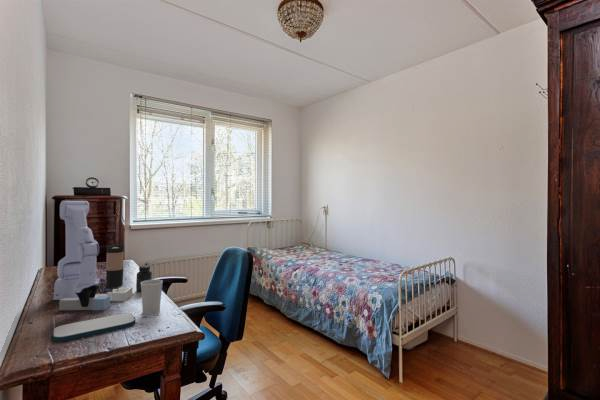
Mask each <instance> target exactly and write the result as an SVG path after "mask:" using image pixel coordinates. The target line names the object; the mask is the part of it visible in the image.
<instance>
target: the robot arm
mask: <svg viewBox="0 0 600 400" xmlns="http://www.w3.org/2000/svg"><path fill="white" fill-rule="evenodd" d="M89 212H90V203H89V201H87V200H61V202H60V204H59V218H60V220H63V221H64V224H65V256H64V257H62V258H61V259H60V260H59V261H58V262H57V268H56V274H57V277H58V278H57V279H56V280H55V282H54V284H53V292H54V293H53V298H52V300H53V301H58V300H61V299H63V298H79V300H80V303H81V306H82V307H87V306H88V304H89V298H95V294H97V292H98V290H99V289H100V283H101V278H100V277H97V258H98V257H97V256H98V255H99V253H100V244H99V243H98V241H97V239H94V234H93V231H92V229H91V228H90V227H88V222H87V216H88V214H89Z"/></svg>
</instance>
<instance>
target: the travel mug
mask: <svg viewBox="0 0 600 400" xmlns="http://www.w3.org/2000/svg"><path fill="white" fill-rule="evenodd" d="M124 249H125V248H124V246H122V245H113V246H108V247H106V264H105V273H106V274H105V278H106V283H105V284H106V287H107V288H109V289H112V288H113V289H115V288H120V287H122V286H123V283H124V282H123V281H124V255H125V254H124V253H125V252H124V251H125V250H124ZM119 286H120V287H119Z"/></svg>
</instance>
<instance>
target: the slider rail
mask: <svg viewBox="0 0 600 400" xmlns="http://www.w3.org/2000/svg"><path fill="white" fill-rule="evenodd" d="M133 295H134V293H133V287H118V288H113V289H112V292H110V291H108V292H106V293H96V294H95V298H96V297H98V296H110V302H125V301H127V300H128V299H129V298H130V297H132V296H133Z"/></svg>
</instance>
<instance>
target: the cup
mask: <svg viewBox="0 0 600 400" xmlns="http://www.w3.org/2000/svg"><path fill="white" fill-rule="evenodd" d="M163 281H164V280H162V279H152V280H146V281H143V282H141V292H140V293H141V304H142V307H141V308H142V315H147V316H148V315H151V316H152V315H156V314H158V313H160V311H161V299H162V289H163Z"/></svg>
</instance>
